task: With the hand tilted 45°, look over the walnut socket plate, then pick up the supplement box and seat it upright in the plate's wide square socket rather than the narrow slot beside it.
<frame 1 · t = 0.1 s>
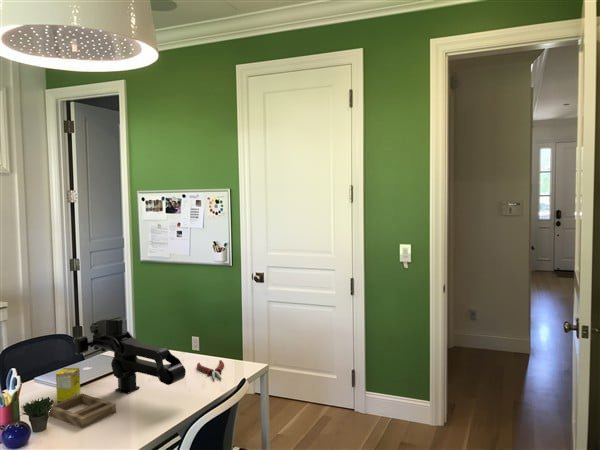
hand: (83, 337, 196), 17 cm above the table, tool horizontal, fingers open, 9 cm apart
supplement box: (68, 400, 175), on the table
socket plate: (83, 414, 163), on the table
pliers: (209, 374, 202), on the table
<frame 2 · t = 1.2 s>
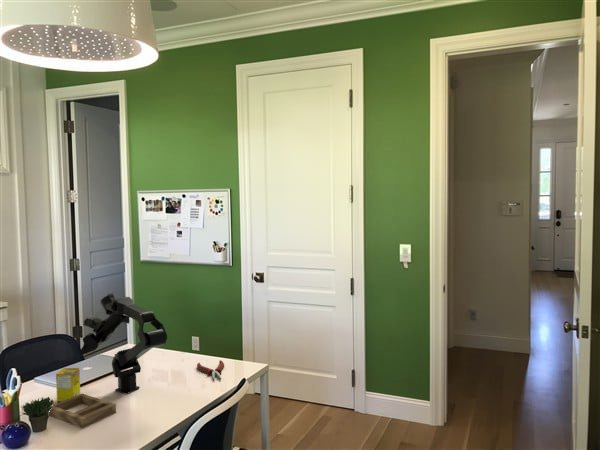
hand: (84, 351, 188), 14 cm above the table, tool tilted 45°, fingers open, 9 cm apart
nothing on the table moved.
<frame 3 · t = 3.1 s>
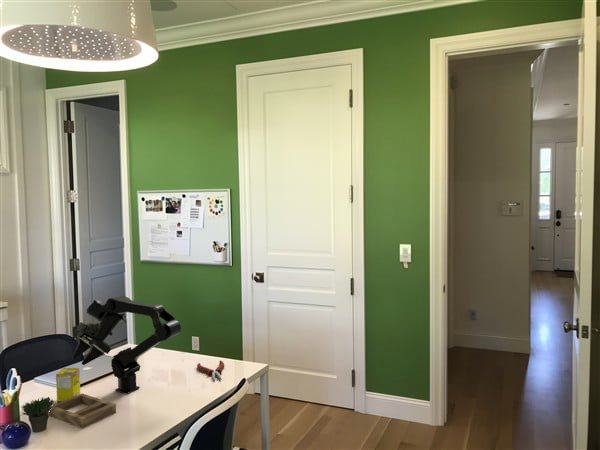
hand: (77, 361, 176), 13 cm above the table, tool tilted 45°, fingers open, 9 cm apart
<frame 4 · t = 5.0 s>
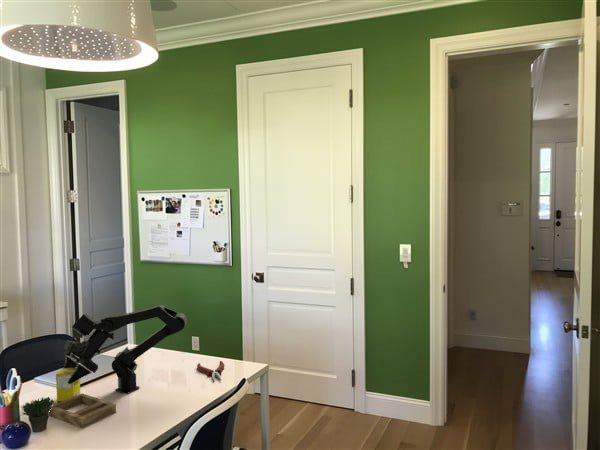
hand: (64, 380, 173), 8 cm above the table, tool tilted 45°, fingers closed on supplement box, 8 cm apart
supplement box: (68, 400, 175), on the table, touching gripper
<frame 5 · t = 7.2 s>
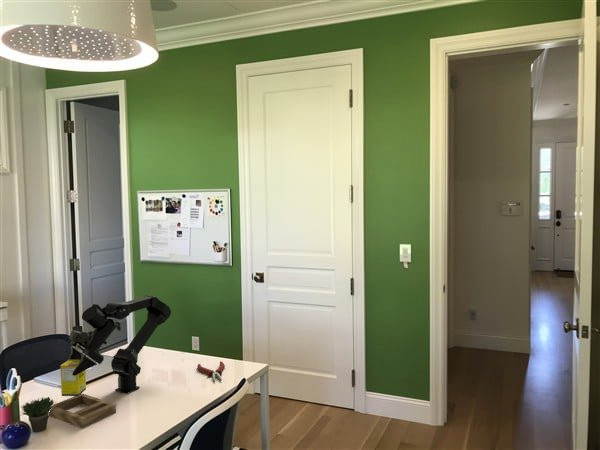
hand: (69, 371, 165), 13 cm above the table, tool tilted 45°, fingers closed on supplement box, 8 cm apart
supplement box: (74, 393, 167), point 5 cm above the table, touching gripper
when the fingers open (9 cm above the table, at t = 9.6 s): supplement box stays where it is, resting in socket plate.
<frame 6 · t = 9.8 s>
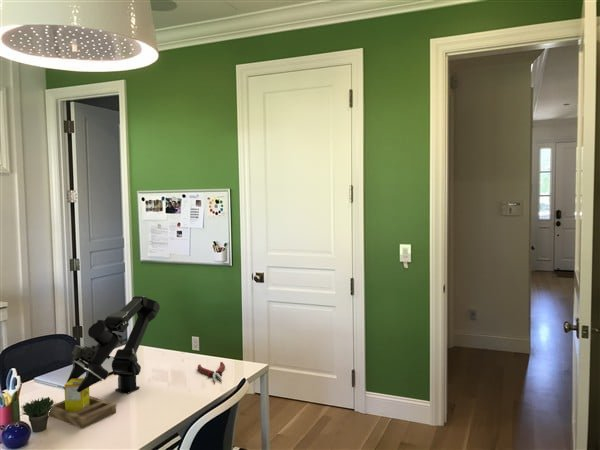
hand: (72, 387, 163), 9 cm above the table, tool tilted 45°, fingers open, 9 cm apart
supplement box: (77, 412, 165), resting in socket plate
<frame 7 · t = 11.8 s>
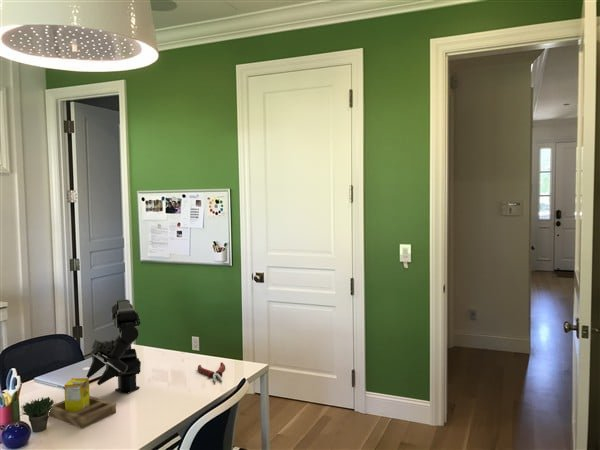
hand: (92, 380, 168), 9 cm above the table, tool tilted 45°, fingers open, 9 cm apart
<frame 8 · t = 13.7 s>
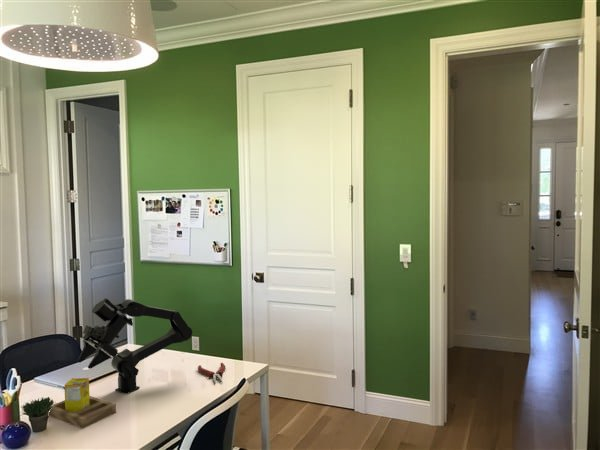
hand: (83, 365, 172), 14 cm above the table, tool tilted 45°, fingers open, 9 cm apart
at the end: supplement box 0.2 cm from the target spot on the socket plate, point 0.0 cm above the socket plate's base; supplement box tilted 0°; the gripper is holding nothing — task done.
